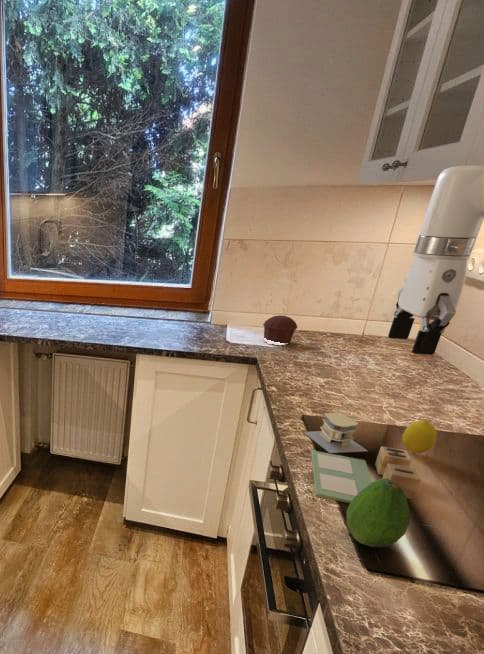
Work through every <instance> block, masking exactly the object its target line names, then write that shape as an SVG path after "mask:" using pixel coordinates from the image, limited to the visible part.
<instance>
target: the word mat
mask: <svg viewBox="0 0 484 654" xmlns="http://www.w3.org/2000/svg"><path fill="white" fill-rule="evenodd" d="M310 455H311V464H312V475H313V485H314V493H315V497H319V498H324V499H330V500H334V501H337V502H342V503H347V504H350V502H351V501H352V500H353V499H354V498H355V497H356V496H357V494H358V493H360V492H361V491H362V490H363V489H364V488H366V487H367V486H368V485H369V484H370V483H372V482H373V480H372V477H371V473H370V471H369V468H368V464H367V461H366V460H365V459H361V458H354V457H350V456H344V455H340V454H335V453H329V452H323V451H318V450H313V449H312V450H311V452H310Z"/></svg>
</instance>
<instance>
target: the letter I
mask: <svg viewBox="0 0 484 654" xmlns="http://www.w3.org/2000/svg"><path fill="white" fill-rule="evenodd" d="M386 478H387V479H389V480H391V481H393V482H395V483H397V484H398V485H399V486H400V487H401V488H402V490H403V491H404V493H405V496H406V499H407V500H414V498H415V495H416V493H417V490H418V488H419V485H420V483H421V482H422V481H421V478H420V475H419V473H418V471H417V469H416V468H415V467H410V466H409V467H405V466H400V465H394V464H389V463H388V464H387V467H386V469H385V472H384V475H382V478H381V479H386Z"/></svg>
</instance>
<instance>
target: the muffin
mask: <svg viewBox="0 0 484 654" xmlns="http://www.w3.org/2000/svg"><path fill="white" fill-rule="evenodd" d="M262 326H263V327H264V328H263V339H264V338H266V339H267V340H271V341H274V342H280V343H289V344H291V341H292V339H293V336H294V332H296V330H297V329H298V324H297V323H296V321H295V320H294V319H293V318H291V317H290V316H287V315H274V316H270V317H269V318H268V319H267V320H265V321H264V322H263V324H262Z"/></svg>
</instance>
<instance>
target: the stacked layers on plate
mask: <svg viewBox="0 0 484 654" xmlns="http://www.w3.org/2000/svg"><path fill="white" fill-rule="evenodd" d="M323 414H324V415H325V417H324V418H322V421H323V424H322V425H321V426H320V429H321V430H318V431H317V430H315V431H302V433H303V434H305V435H306V436H307V437H309V438H310V439H311V440H312V441H314V442H315V444H317V445H318V446H320V447H321V448H323V449H324V450H325V451H327V453H329V454H338V453H339V454H340V453H360V452H368V450H367V449H366V448H364V447H363V446H362V445H360V444H358V442H356V441H354V440H353V439H354V438H355V436H354V435H353V434H354V432H356V431H357V425H359V422H358V421H357V420H355V419H353V418H351V417H349V416H347V415H345V414H343V413H341V412H327V413H325V412H324V413H323Z"/></svg>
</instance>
